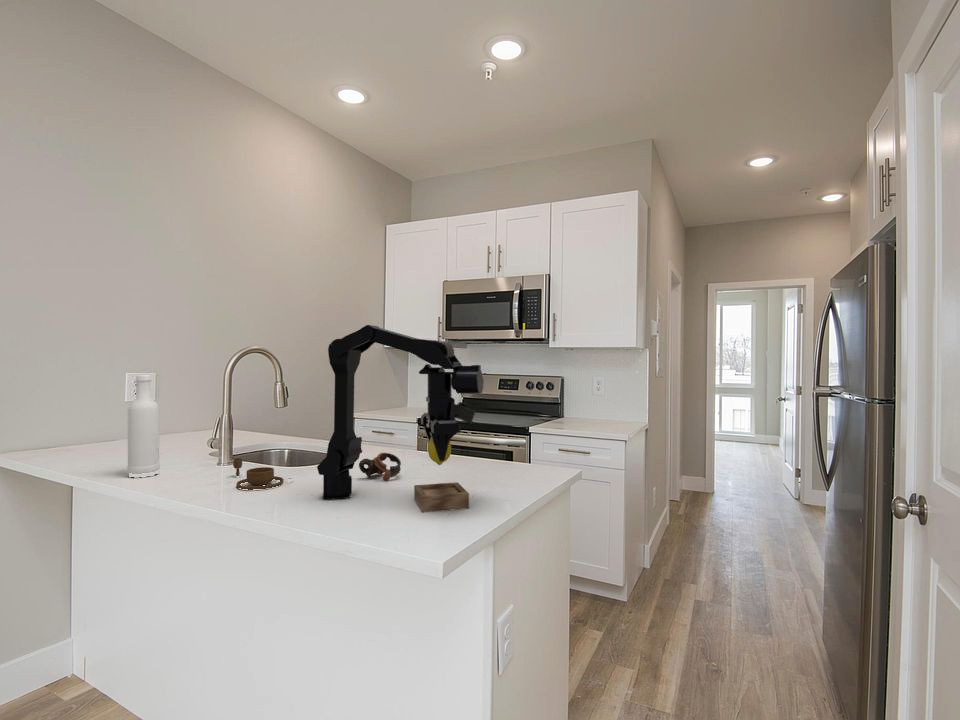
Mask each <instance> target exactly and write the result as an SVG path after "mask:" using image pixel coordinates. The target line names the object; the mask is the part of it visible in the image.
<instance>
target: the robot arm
mask: <svg viewBox="0 0 960 720" xmlns="http://www.w3.org/2000/svg"><path fill="white" fill-rule="evenodd" d="M375 343H376V344H380V345H383V346H386V347H389V348H390V347H391V348H393V349H397V350H400V351H403V352H407V353H409V354H412V355H414V356H416V357H417V358H419V359H421V360H422V361H425V362H427V364H425V365H424V366H423V367H422V369H420V370H419V372H418V374H419V375H427V396H426V398H425V401H426V402H427V412H424V413H422V415H421V416H420V425H423V427H422V428H423V430H424V432H425V434H426V435H425V436H426V437H427V439H428V442H429V441H430V439H431V438H432V440H433V443H434V446H435V449H436V452H437V455H438V458H439V460H440V461H444V460H445V456H446V452H447V448H448V444H449V441H450V442H451V439H452V438H453V437H454V436H456V435H457V434H459V433H460V434H461V432H462V428H461V426H462V425H461V423H460V421H458V420H457V419H459V420H462V421H465V422H466V423H469V424H472V423H473V421H474V417H475V414H476V411H475V410H473V409H470V408H468V405H467V403H465V402H461V401H459V402H457V403H455V401H456V400H455V398H454V397H452V394H453V393H452V390H455V392H456V394H461V395H462V394H466V395H468V394H469V395H470V394H471V395H481V394H482V393H483V390H484V382H485V381H484V377H483V372H482V368H481V367H482V366H481V364H471V365H463V364H462V363H461V362H460V360H459V358H458V357H457V356H456V354H455V349H454V347H453V345H452V344H451V343H450V342H448V341H445V340H434V339H433V340H432V339H425V338H423V339H422V338H417V337H413V336H410V335H407V334H402V333H399V332H396V331H392V330H388V329H386V328H385V329H384V328H382V327H379V326H378V325H371V324H365V325H364V326H363V327H361V328H359V329H358V330H356V331H354V332H351V333H349V334H347V335H344V336H343V337H341V338H336V339H333V340H332V341H331V342H330V343H329V344H328V348H327V353H328V362H329V365H330V367H331V369H332V371H333V373H334V399H333V400H334V401H333V402H334V410H333V411H334V412H333V415H334V416H333V418H334V419H333V433H332V435H331V437H330V439H329V442H328V444H327V452H326V455H325V458H324V459H322V461H321V462H320V463H319V464H318V465H317V466H316V468H317V471H318V475H321V476H323V478H322V480H323V481H322V483H323V484H322V485H323V491H322V500H323V501H324V500H335V499H336V500H337V499H339V500H341V499H350V498H351V494H352V493H353V490H352V489H353V487H352V486H353V485H352V482H353V481H352V480H353V478H352V475H351V474H350V470H352V469H354V465H355V463H356V462H357V461H358V460H359V458H360V455H361V454H362V453H363V450H362V441H363V439H362V436H358V437H357V435H356V433H355V430H354V429H355V428H354V423H355V421H354V418H355V375H356V373H357V370H358V367H359V365H360V363H361V358H362V357H361V356H362V354H363V353H364V352H366V351H367V350H369V349H370V348H371V347H372V346H373V345H374V344H375ZM431 365H433V366H434V365H435V366H437V367H433V366H431ZM438 366H439V367H438ZM446 370H452V371H446ZM425 425H426V426H425Z"/></svg>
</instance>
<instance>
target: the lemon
mask: <svg viewBox="0 0 960 720" xmlns="http://www.w3.org/2000/svg"><path fill="white" fill-rule="evenodd" d="M427 453H428V457H429V458H430V460H431V461H433V462H434V463H436V464H437V465H438V466H441V465H443V463H445V462H447V460H449V459H450V456H451V453H452V443H451V440H450V441H449V444H448V448H447V452H446V456H445V460H444V461H440V460H439V458H438V455H437V452H436V449H435V446H434V443H433V440H432V438H431V439H430V441H429V440H428V446H427Z"/></svg>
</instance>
